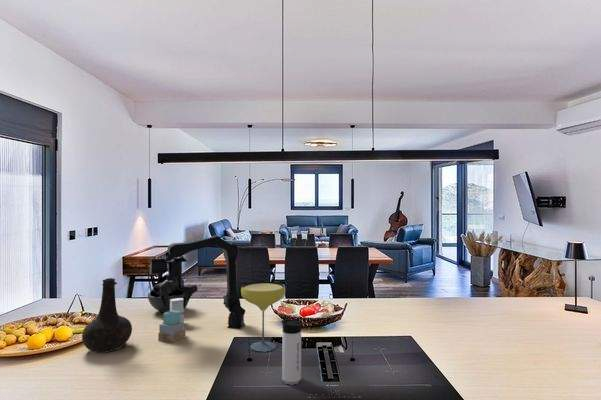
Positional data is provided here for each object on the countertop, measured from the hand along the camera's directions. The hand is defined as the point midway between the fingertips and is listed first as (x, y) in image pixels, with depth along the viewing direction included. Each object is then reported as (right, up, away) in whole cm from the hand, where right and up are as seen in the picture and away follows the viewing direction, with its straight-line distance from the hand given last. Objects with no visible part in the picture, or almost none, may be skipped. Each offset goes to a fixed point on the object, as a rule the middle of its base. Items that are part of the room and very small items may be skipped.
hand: (175, 307), depth 161 cm
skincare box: (-5, -13, +16) cm, 21 cm away
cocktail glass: (+40, -13, -11) cm, 43 cm away
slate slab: (-1, -10, -2) cm, 10 cm away
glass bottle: (-23, -13, -13) cm, 29 cm away
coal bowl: (-17, -13, +37) cm, 43 cm away
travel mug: (+52, -13, -39) cm, 66 cm away
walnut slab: (-1, -13, -2) cm, 13 cm away
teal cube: (-1, -6, -1) cm, 6 cm away
